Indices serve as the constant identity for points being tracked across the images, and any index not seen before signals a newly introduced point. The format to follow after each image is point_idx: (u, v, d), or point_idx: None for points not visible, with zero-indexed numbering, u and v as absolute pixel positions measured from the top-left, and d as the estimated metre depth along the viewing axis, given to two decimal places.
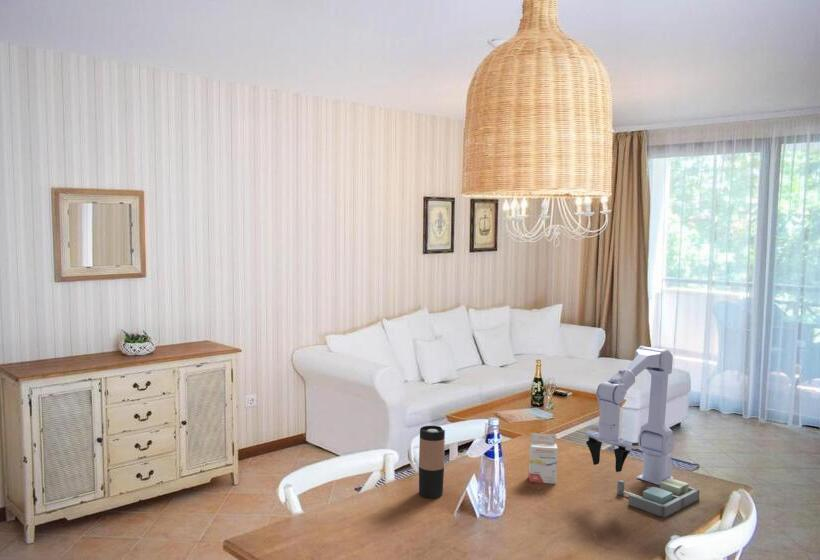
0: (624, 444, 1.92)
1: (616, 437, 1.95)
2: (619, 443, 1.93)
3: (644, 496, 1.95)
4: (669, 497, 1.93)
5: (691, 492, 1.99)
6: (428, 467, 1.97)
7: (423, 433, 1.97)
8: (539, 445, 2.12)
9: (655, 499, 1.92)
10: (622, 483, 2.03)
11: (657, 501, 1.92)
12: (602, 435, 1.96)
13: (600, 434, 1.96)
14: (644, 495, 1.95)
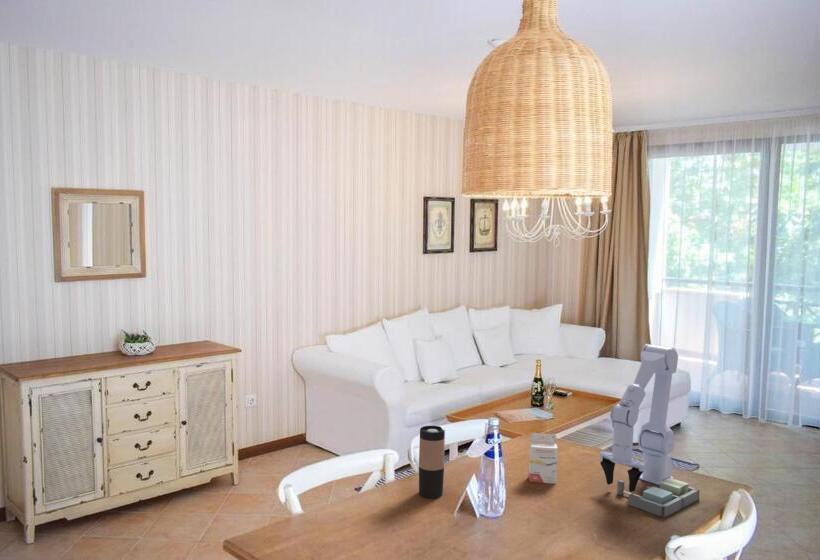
0: (637, 465, 1.98)
1: (630, 458, 2.01)
2: (633, 464, 1.99)
3: (644, 496, 1.95)
4: (669, 497, 1.93)
5: (691, 492, 1.99)
6: (428, 467, 1.97)
7: (423, 433, 1.97)
8: (539, 445, 2.12)
9: (655, 499, 1.92)
10: (622, 483, 2.03)
11: (657, 501, 1.92)
12: (616, 456, 2.02)
13: (614, 455, 2.02)
14: (644, 495, 1.95)
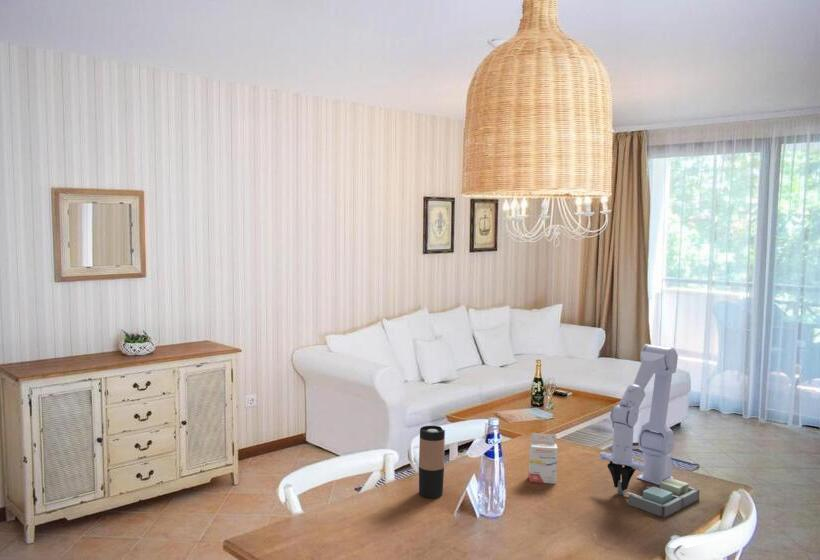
0: (637, 466, 1.98)
1: (629, 459, 2.01)
2: (633, 465, 1.99)
3: (644, 496, 1.95)
4: (669, 497, 1.93)
5: (691, 492, 1.99)
6: (428, 467, 1.97)
7: (423, 433, 1.97)
8: (539, 445, 2.12)
9: (655, 498, 1.92)
10: None
11: (657, 501, 1.92)
12: (616, 457, 2.02)
13: (614, 455, 2.02)
14: (644, 495, 1.95)
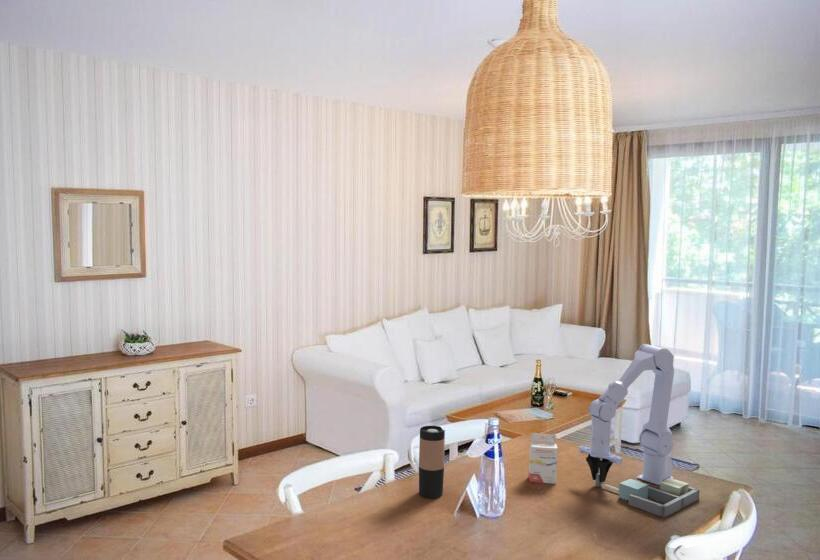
0: (614, 459, 2.04)
1: (607, 452, 2.07)
2: (610, 458, 2.05)
3: (620, 488, 2.01)
4: (645, 489, 1.99)
5: (691, 492, 1.99)
6: (428, 467, 1.97)
7: (423, 433, 1.97)
8: (539, 445, 2.12)
9: (631, 490, 1.98)
10: None
11: (633, 492, 1.97)
12: (594, 450, 2.07)
13: (592, 449, 2.08)
14: (620, 487, 2.01)
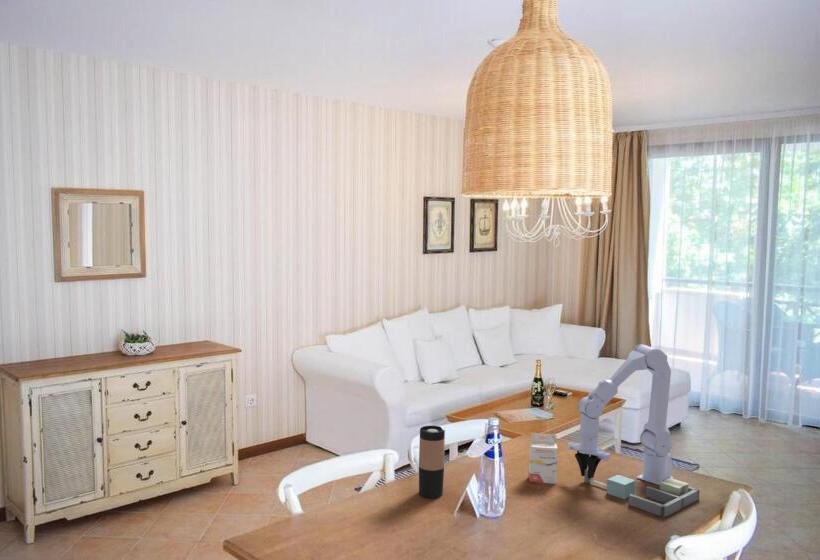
0: (602, 455, 2.07)
1: (595, 448, 2.10)
2: (598, 454, 2.08)
3: (608, 484, 2.04)
4: (632, 484, 2.02)
5: (691, 492, 1.99)
6: (428, 467, 1.97)
7: (423, 433, 1.97)
8: (539, 445, 2.12)
9: (618, 486, 2.01)
10: None
11: (620, 488, 2.01)
12: (582, 446, 2.11)
13: (581, 445, 2.11)
14: (608, 483, 2.04)
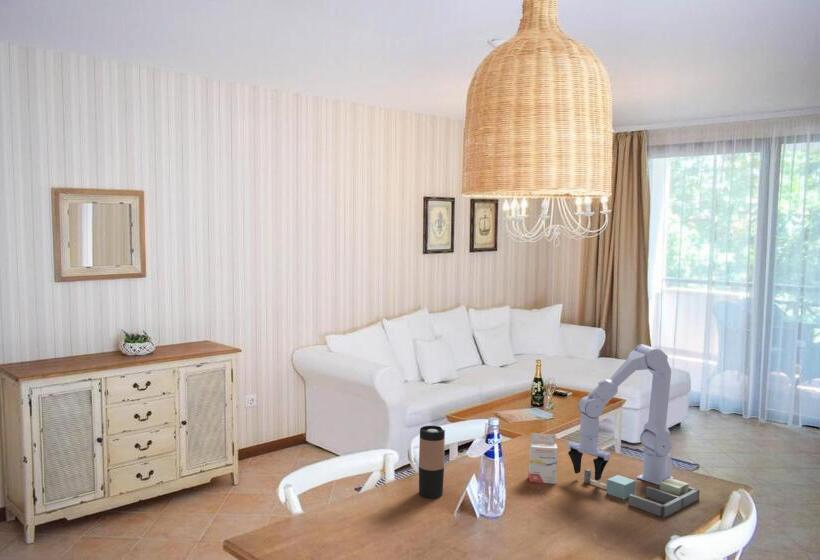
0: (602, 455, 2.07)
1: (595, 448, 2.10)
2: (598, 454, 2.08)
3: (608, 484, 2.04)
4: (632, 485, 2.02)
5: (691, 492, 1.99)
6: (428, 467, 1.97)
7: (423, 433, 1.97)
8: (539, 445, 2.12)
9: (618, 486, 2.01)
10: (588, 472, 2.12)
11: (620, 488, 2.01)
12: (582, 446, 2.11)
13: (581, 445, 2.11)
14: (608, 483, 2.04)
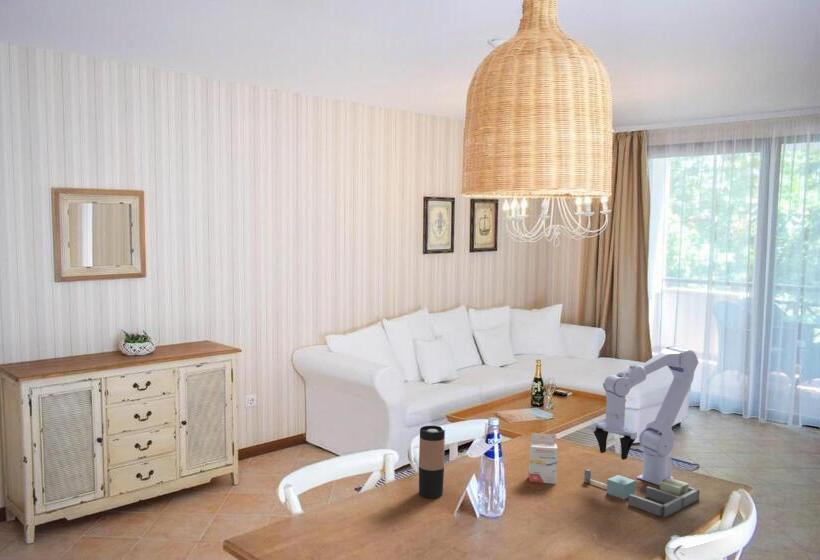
0: (629, 433, 2.05)
1: (622, 427, 2.08)
2: (625, 432, 2.06)
3: (608, 484, 2.04)
4: (632, 485, 2.02)
5: (691, 492, 1.99)
6: (428, 467, 1.97)
7: (423, 433, 1.97)
8: (539, 445, 2.12)
9: (618, 486, 2.01)
10: (589, 472, 2.12)
11: (620, 488, 2.01)
12: (609, 425, 2.09)
13: (607, 424, 2.10)
14: (608, 483, 2.04)
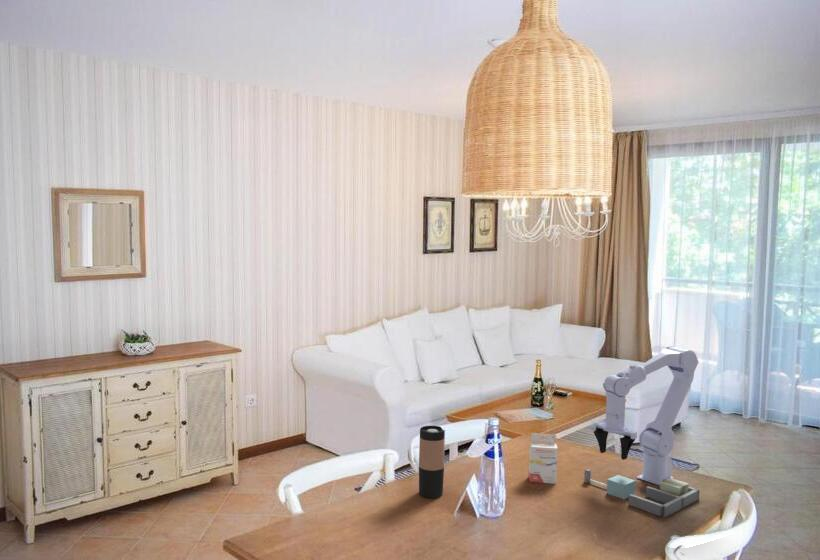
0: (629, 433, 2.05)
1: (622, 427, 2.08)
2: (625, 432, 2.06)
3: (608, 484, 2.04)
4: (632, 485, 2.02)
5: (691, 492, 1.99)
6: (428, 467, 1.97)
7: (423, 433, 1.97)
8: (539, 445, 2.12)
9: (618, 486, 2.01)
10: (588, 472, 2.12)
11: (620, 488, 2.01)
12: (609, 425, 2.09)
13: (607, 424, 2.10)
14: (608, 483, 2.04)
